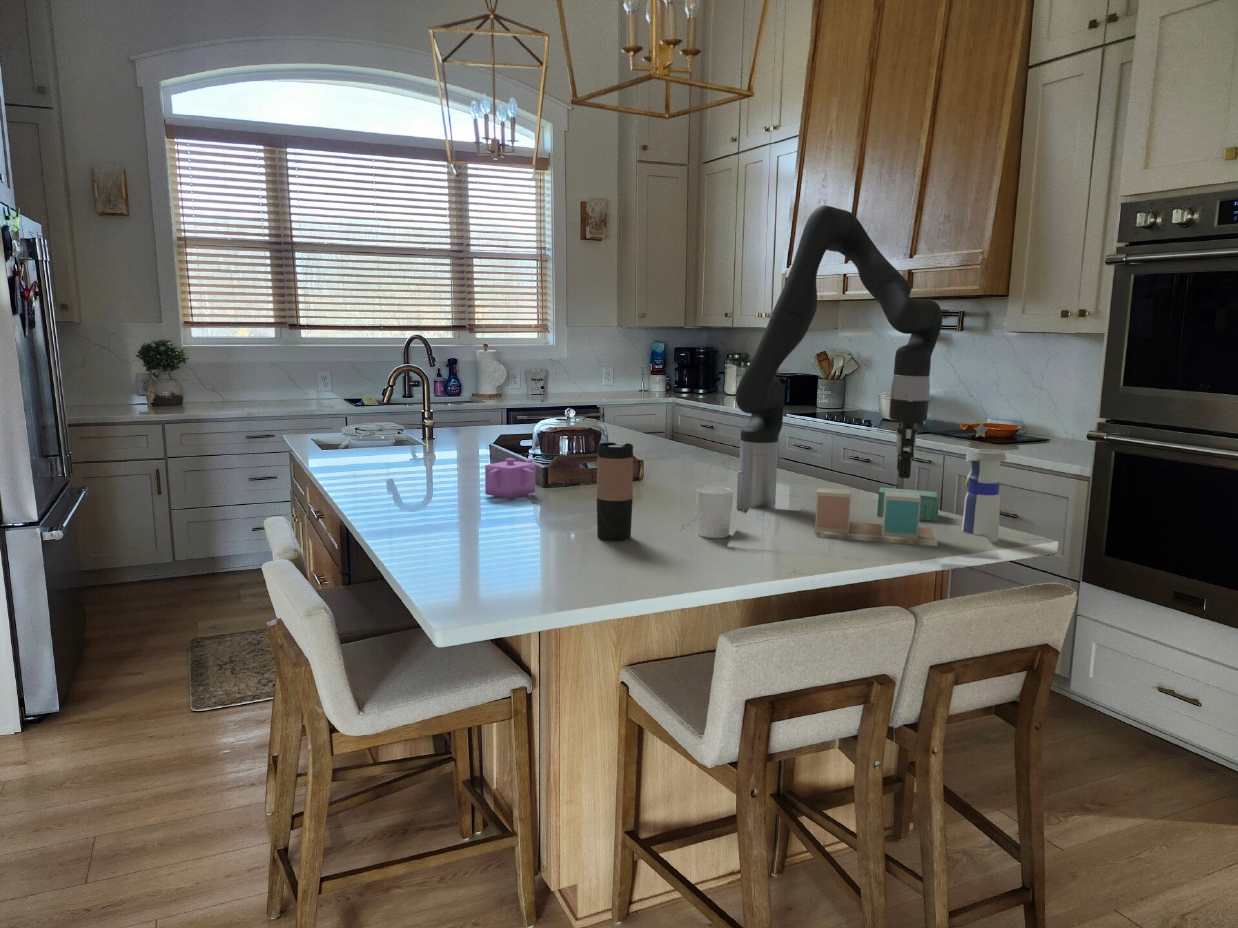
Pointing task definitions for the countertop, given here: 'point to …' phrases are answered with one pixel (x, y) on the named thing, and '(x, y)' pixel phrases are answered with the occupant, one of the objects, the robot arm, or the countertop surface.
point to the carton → (901, 515)
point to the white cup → (714, 511)
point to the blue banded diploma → (983, 492)
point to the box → (926, 506)
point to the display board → (880, 535)
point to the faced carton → (833, 510)
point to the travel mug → (614, 491)
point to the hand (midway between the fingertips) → (903, 474)
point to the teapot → (510, 478)
